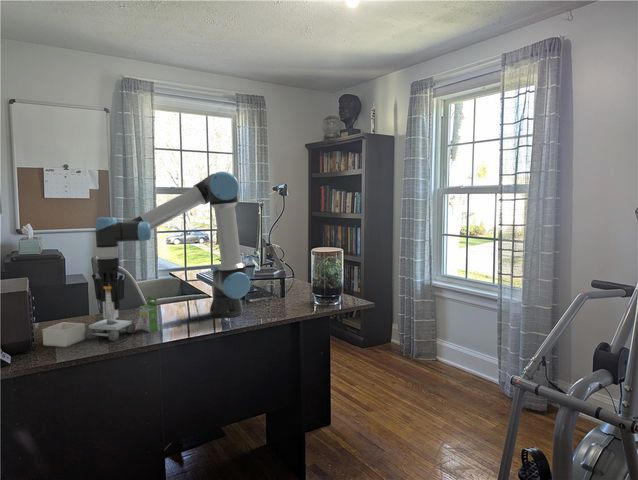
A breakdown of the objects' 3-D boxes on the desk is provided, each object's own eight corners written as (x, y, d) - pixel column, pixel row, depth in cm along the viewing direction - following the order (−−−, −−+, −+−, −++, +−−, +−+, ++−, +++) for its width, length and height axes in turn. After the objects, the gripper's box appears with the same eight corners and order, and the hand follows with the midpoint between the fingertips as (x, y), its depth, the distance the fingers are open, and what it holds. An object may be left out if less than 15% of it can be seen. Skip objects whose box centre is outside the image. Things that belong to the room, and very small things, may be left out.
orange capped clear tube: (120, 332, 173) (118, 284, 171) (113, 336, 168) (110, 286, 167) (110, 332, 173) (108, 284, 172) (103, 335, 169) (100, 286, 167)
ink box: (140, 329, 179) (139, 297, 178) (149, 327, 182) (148, 295, 181) (149, 332, 175) (147, 299, 174) (158, 330, 178) (157, 297, 177)
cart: (135, 331, 176) (135, 319, 176) (112, 342, 163) (112, 328, 162) (109, 329, 179) (108, 317, 178) (84, 340, 165) (84, 327, 165)
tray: (85, 339, 167) (84, 323, 166) (66, 347, 157) (65, 330, 157) (63, 337, 169) (63, 322, 168) (43, 345, 159) (42, 329, 159)
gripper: (132, 256, 170) (135, 316, 172) (96, 256, 174) (99, 314, 176) (120, 259, 163) (123, 321, 165) (82, 258, 166) (85, 319, 168)
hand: (111, 317), depth 170 cm, fingers closed on orange capped clear tube, 3 cm apart
